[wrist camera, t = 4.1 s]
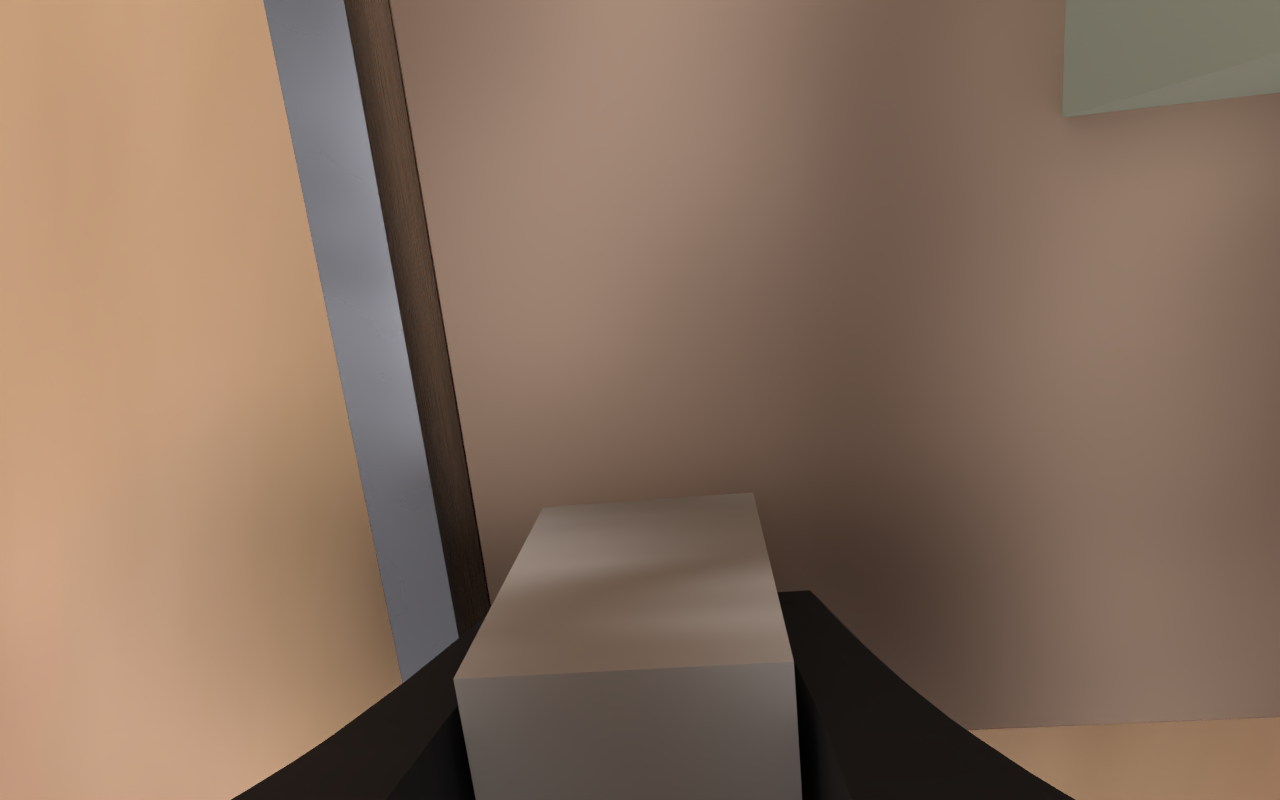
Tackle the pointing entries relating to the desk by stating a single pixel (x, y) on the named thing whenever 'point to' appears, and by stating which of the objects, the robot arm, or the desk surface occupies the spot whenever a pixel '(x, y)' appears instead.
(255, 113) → the desk surface
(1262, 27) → the cube
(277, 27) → the guide rails
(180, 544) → the desk surface
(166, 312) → the desk surface
